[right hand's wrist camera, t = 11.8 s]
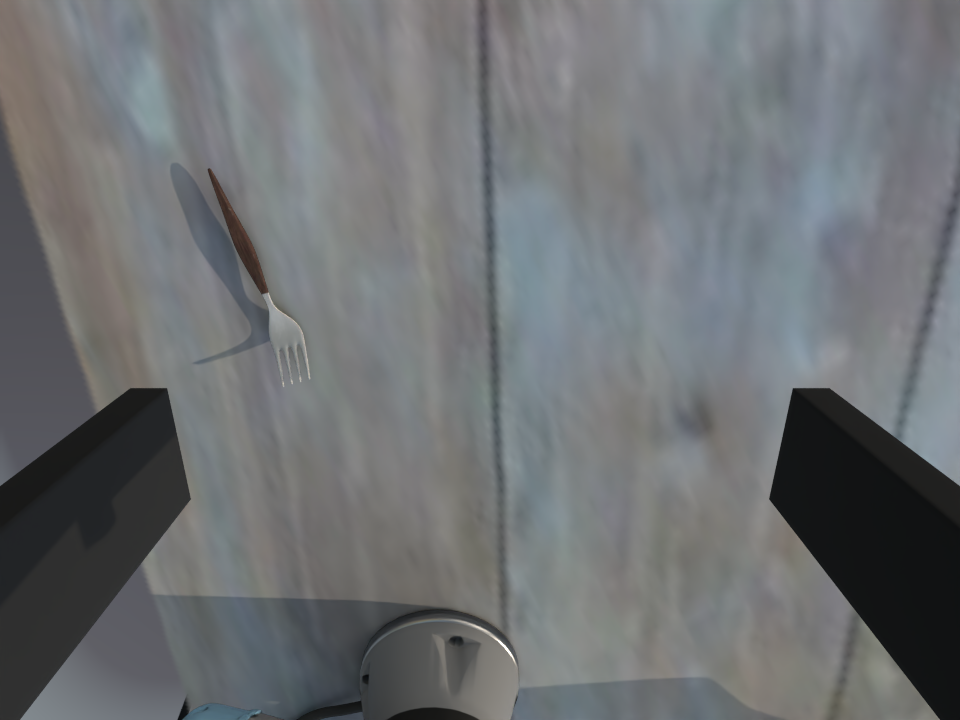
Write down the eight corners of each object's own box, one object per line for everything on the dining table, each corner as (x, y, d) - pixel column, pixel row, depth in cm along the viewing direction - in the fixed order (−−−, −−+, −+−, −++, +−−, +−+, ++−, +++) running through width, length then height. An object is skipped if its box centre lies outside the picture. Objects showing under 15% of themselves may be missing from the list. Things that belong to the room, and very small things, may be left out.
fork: (229, 162, 40) (217, 164, 39) (319, 368, 46) (312, 378, 44) (195, 173, 41) (181, 176, 39) (288, 377, 46) (280, 388, 44)
